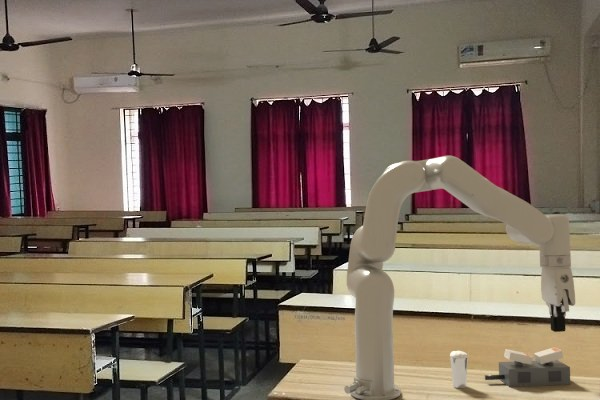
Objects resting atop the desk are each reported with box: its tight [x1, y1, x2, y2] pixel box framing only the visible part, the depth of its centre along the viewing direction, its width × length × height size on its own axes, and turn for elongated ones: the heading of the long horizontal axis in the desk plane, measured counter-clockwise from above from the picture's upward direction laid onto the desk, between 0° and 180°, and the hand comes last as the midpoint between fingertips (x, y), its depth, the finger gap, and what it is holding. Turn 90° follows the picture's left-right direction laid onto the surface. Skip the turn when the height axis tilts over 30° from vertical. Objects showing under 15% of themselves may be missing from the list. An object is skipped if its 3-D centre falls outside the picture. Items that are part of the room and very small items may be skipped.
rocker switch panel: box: [484, 359, 571, 388], centre depth 157 cm, size 21×7×5 cm, turn 92°
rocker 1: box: [503, 348, 534, 364], centre depth 157 cm, size 6×4×2 cm, turn 92°
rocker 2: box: [533, 346, 564, 364], centre depth 158 cm, size 6×4×2 cm, turn 93°
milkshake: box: [449, 348, 472, 389], centre depth 155 cm, size 4×5×10 cm
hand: (558, 330), depth 158 cm, fingers closed
